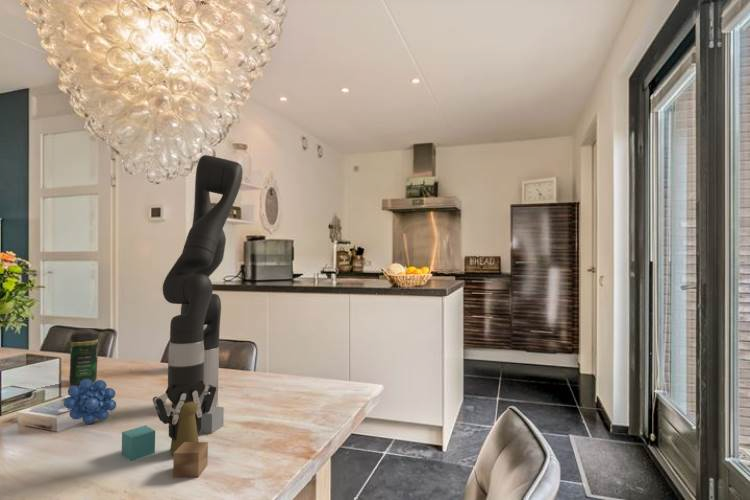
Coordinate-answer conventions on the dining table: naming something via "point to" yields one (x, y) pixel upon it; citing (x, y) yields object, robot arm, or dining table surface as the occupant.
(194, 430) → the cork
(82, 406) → the blue knobby flower
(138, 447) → the deep teal block
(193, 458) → the walnut block
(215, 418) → the slate-grey block
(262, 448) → the dining table surface
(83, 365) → the coffee jar
